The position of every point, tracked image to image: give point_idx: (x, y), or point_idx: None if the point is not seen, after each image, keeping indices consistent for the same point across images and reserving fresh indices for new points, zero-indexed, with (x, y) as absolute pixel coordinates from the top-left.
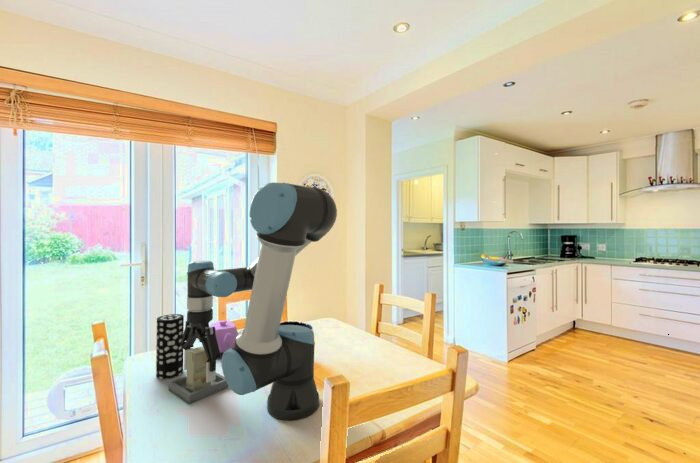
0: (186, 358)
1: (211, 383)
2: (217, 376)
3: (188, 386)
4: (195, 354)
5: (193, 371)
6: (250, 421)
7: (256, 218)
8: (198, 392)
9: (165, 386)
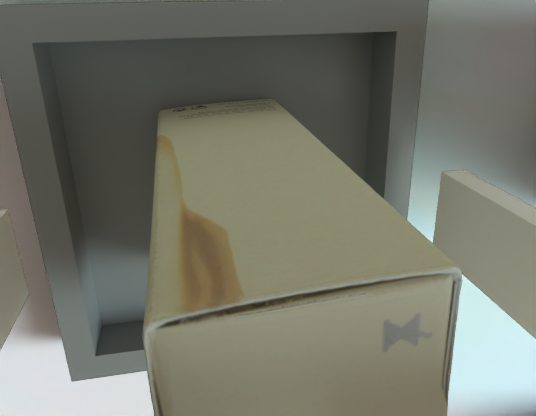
0: (521, 232)
1: None
2: None
3: (238, 105)
4: (146, 321)
5: (163, 165)
6: None
7: None
8: (8, 106)
9: (472, 10)
